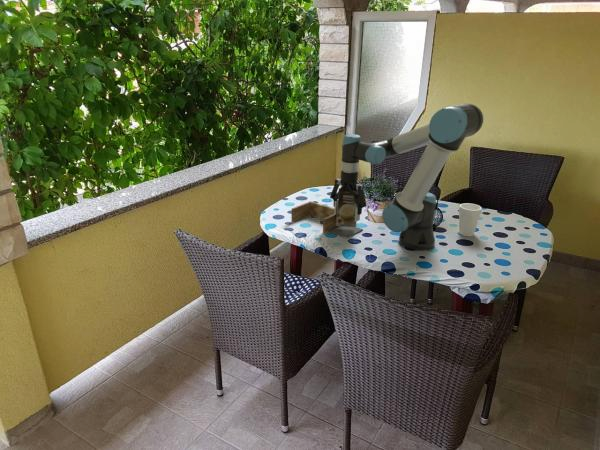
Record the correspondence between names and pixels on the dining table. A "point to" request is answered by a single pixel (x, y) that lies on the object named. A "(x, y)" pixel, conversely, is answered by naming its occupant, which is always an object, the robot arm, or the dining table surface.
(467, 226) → the foam cup
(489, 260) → the dining table surface
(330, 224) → the wooden u-shaped bracket
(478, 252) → the dining table surface
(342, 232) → the coaster
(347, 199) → the coffee box
